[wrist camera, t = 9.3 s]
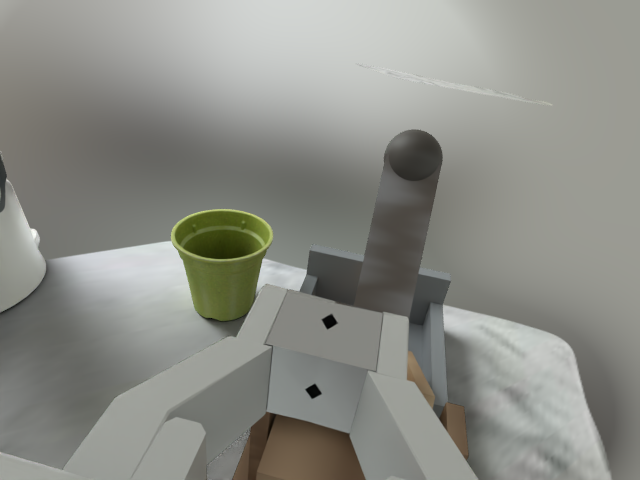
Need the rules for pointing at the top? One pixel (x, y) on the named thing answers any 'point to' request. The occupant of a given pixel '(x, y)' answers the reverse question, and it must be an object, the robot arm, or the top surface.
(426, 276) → the bin
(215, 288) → the plant pot
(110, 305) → the top surface
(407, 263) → the launcher
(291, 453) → the lever stand
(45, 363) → the top surface
